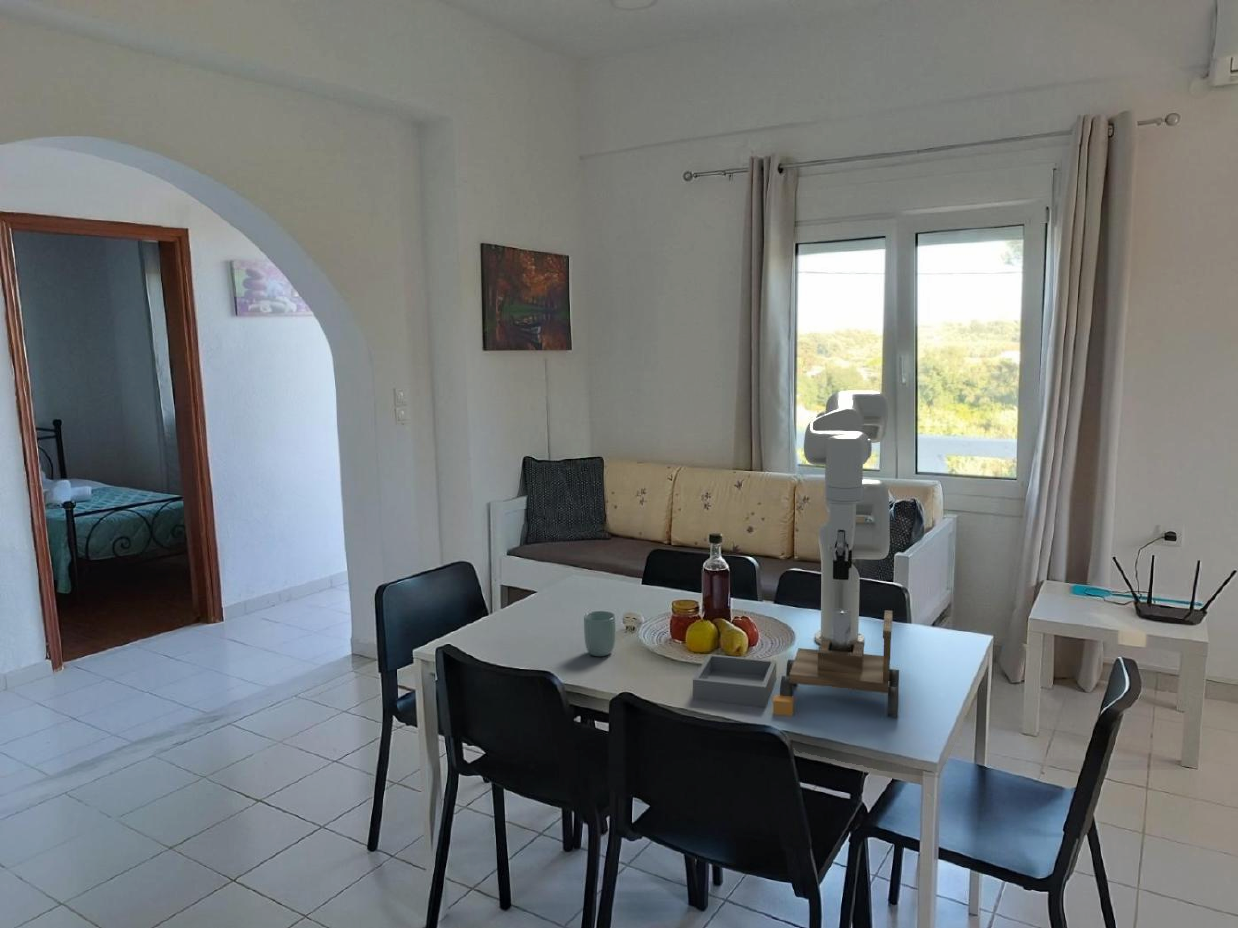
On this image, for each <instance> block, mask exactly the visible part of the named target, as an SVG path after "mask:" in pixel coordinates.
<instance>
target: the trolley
mask: <svg viewBox="0 0 1238 928" xmlns="http://www.w3.org/2000/svg"><path fill="white" fill-rule="evenodd" d="M892 629H893V610H884V616H883V627H882V639H883V655H878V654H877V655H876V654H868V653H864V652H865V651H864V649H865V641H864V642H856V641H851V652H841V651H832V639H822V640H821V643H820V644H819V648H818V649H810V648H800V647H799V648H798V649H797V651H796V654H795V657H794V659H787V662H786V668H785V669H786V672H785V675H782V676H781V679H780V687H779V695H781V696H790V697H793V695H794V694H793V692H794V688H797V686H798V685H807V686H816V687H825V688H827V687H828V688H835V689H844V690H845V689H846V690H854V691H865V692H873V693H874V692H875V693H886V694H887V717H893V718H894V717H895V718H898V717H899V713H898V712H899V688H900V687H899V684H900V683H899V682H900V670H899V669H892V668H890V667H891V664H890V663H891V645H892V644H891V642H892Z"/></svg>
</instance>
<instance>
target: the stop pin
mask: <svg viewBox="0 0 1238 928" xmlns="http://www.w3.org/2000/svg"><path fill="white" fill-rule="evenodd" d="M832 651H841V652H851V611H850V610H847V609H834V610H832Z"/></svg>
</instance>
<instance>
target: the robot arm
mask: <svg viewBox="0 0 1238 928" xmlns="http://www.w3.org/2000/svg"><path fill="white" fill-rule="evenodd" d="M888 420H889V404H888V400H887V399H886V396H885V395H884V394H883V393H882V392H880V391H876V390H843V391H838V392H835V393H833V394H832V395H830V396H829V398H827V401H826V404H825V410H824V411H821V412H820V413H818V414H817V416H816V417H815V418H814V419H813V420H812V421H810V422H809V423H808V425H807V426H806V429H805V433H804V440H803V454H804V458H805V460H806V462H808V463H809V464H811V465H813V466H825V467H824V470H825V471H824V504H825V505H824V506H825V509H826V510H827V512H828V513H829V514H828V521H827V522H825V523H823V524H822V525H821V526H820V528H819V530H818V534H817V535H818V536H817V537H818V538H817V539H818V546H819V554H820V562H821V563H820V566H821V567H820V568H821V578H820V579H821V581H820V582H821V583H820V585H821V590H820V595H821V597H820V600H821V601H820V630H818V631H816V632H815V633H814V640H815V642H816V643H818V644H819V645H820V643H821V640H822V639H832V610H834V609H847V610H850V611H851V641H856V642H864V643H865V636H864V635H863V634H862V633H861V632H859V631H860V630H859V619H860V618H859V617H860V616H859V615H860V614H859V613H860V574H859V571H858V569H857V568H856V567H855V565H854V564H853V560H883V559H885V558H886V557H887V556H888V554H889V551H890V547H891V546H890V544H891V543H890V542H891V535H890V534H891V532H890V531H891V530H890V529H891V527H890V525H891V524H890V523H891V522H890V520H891V519H890V518H891V517H890V509H891V507H890V493H889V488H888V486H887V484H886V483H885V482H884V481H882V480H879V479H865V478H864V476H863V475H864V473H863V472H864V465H865V464H866V463H867V461H869V459H870V458H871V456H872V448H873V447H872V444H876V443H877V444H878V443H880V442H882V441H883V440H884V438H885V436H886V434H887V433H886V431H887V426H888ZM857 517H865V518H869V519H870V521H858V520H857Z"/></svg>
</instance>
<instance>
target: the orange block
mask: <svg viewBox="0 0 1238 928" xmlns="http://www.w3.org/2000/svg"><path fill="white" fill-rule="evenodd" d="M794 711H795V696H792V697H790V696H781V695H780V694H774V697H773V700H772V714H773V715H779V716H787V717H793V714H794Z"/></svg>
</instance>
